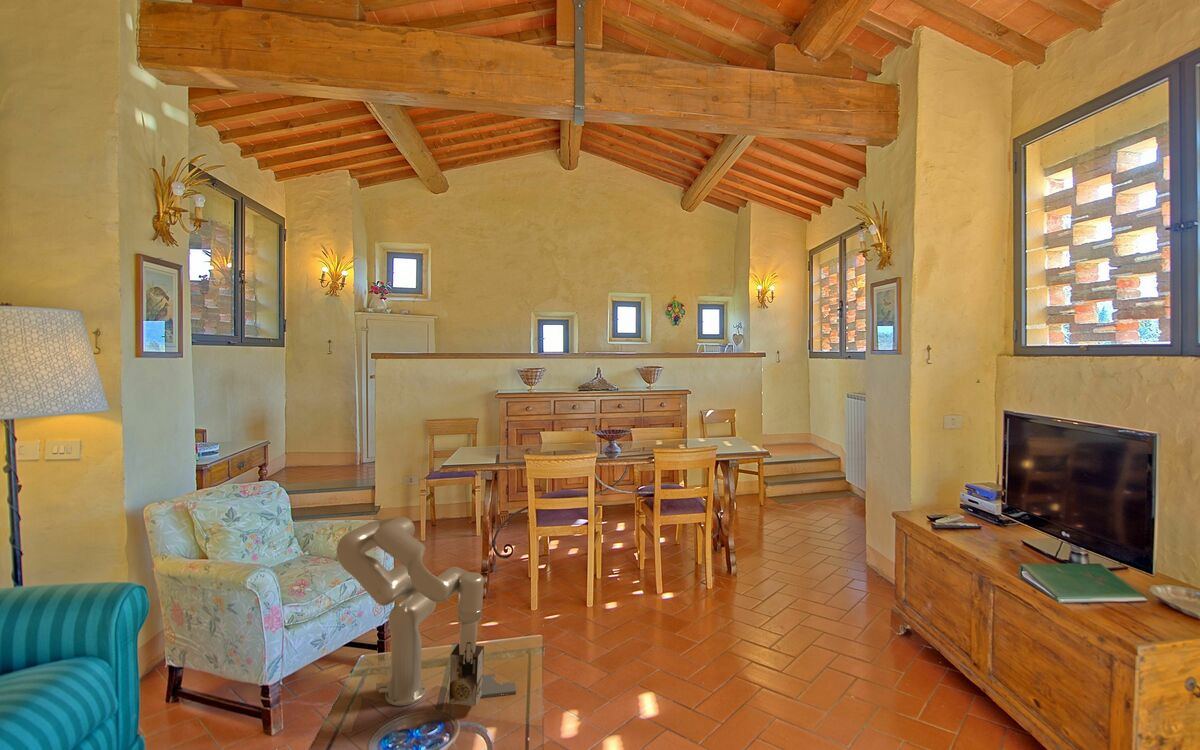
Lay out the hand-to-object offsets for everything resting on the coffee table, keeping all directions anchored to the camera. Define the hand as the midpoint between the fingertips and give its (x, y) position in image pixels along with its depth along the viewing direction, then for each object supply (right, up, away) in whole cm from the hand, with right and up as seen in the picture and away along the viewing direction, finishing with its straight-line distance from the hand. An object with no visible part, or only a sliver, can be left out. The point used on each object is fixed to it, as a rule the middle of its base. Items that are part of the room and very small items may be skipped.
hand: (467, 666), depth 174 cm
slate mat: (+8, -13, +13) cm, 20 cm away
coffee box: (-1, -11, +1) cm, 11 cm away
